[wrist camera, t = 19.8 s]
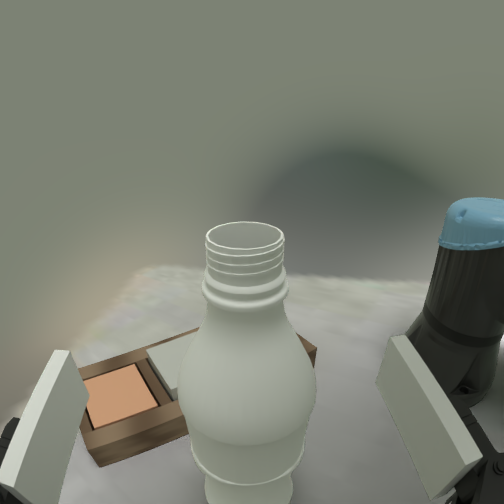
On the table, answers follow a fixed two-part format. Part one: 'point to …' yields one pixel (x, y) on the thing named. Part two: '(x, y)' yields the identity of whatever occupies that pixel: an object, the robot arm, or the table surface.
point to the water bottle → (246, 372)
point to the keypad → (146, 424)
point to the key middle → (169, 362)
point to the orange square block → (117, 397)
